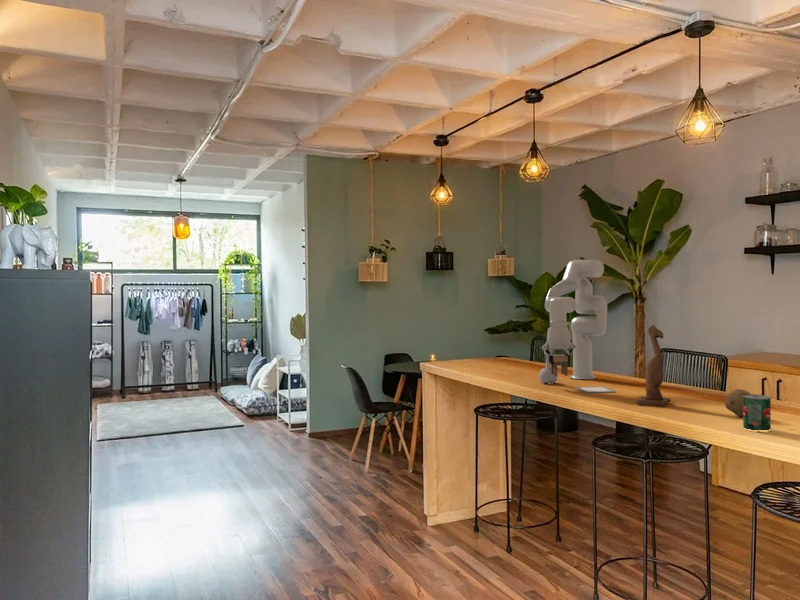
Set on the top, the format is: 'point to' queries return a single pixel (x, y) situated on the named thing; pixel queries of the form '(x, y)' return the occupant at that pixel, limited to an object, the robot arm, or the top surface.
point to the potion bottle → (547, 372)
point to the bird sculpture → (654, 373)
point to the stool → (564, 367)
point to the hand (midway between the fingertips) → (559, 363)
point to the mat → (595, 389)
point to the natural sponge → (736, 401)
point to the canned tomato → (756, 412)
